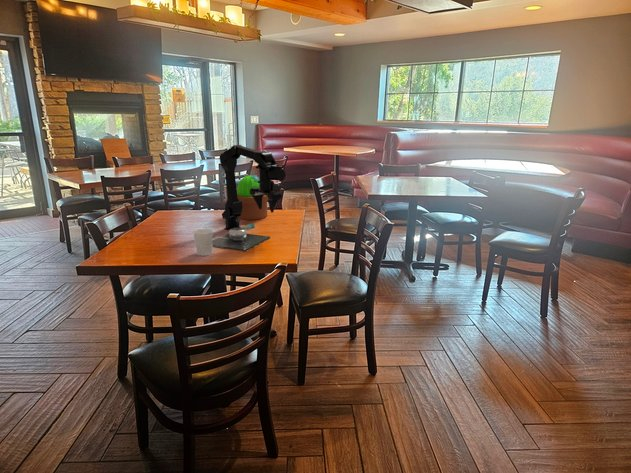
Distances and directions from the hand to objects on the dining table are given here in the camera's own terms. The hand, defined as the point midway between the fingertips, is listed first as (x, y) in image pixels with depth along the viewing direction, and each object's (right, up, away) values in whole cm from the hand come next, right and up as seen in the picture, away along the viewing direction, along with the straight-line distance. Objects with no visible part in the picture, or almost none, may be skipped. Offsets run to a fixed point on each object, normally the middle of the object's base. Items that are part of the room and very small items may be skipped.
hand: (266, 210), depth 199 cm
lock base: (-13, -15, -4) cm, 20 cm away
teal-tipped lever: (-11, -11, -1) cm, 16 cm away
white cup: (-25, -20, -20) cm, 37 cm away
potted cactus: (-13, -1, +44) cm, 46 cm away
